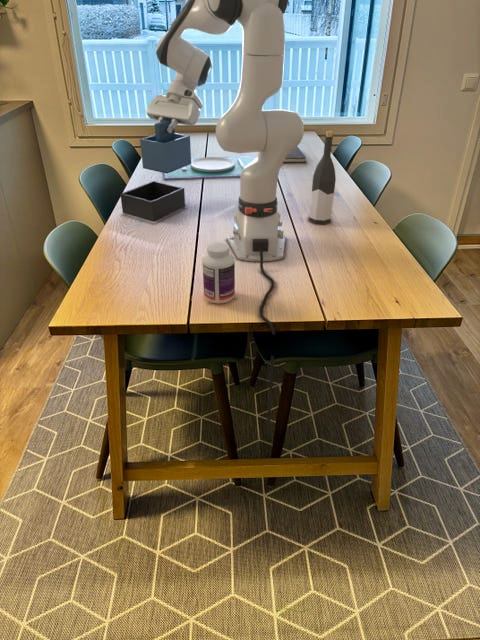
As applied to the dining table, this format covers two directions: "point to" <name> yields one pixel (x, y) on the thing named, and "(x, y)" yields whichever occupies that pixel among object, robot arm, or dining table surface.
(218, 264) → the pill bottle
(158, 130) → the caddy
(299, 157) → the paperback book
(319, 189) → the wine bottle
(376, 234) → the dining table surface
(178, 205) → the tote
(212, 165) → the place mat
